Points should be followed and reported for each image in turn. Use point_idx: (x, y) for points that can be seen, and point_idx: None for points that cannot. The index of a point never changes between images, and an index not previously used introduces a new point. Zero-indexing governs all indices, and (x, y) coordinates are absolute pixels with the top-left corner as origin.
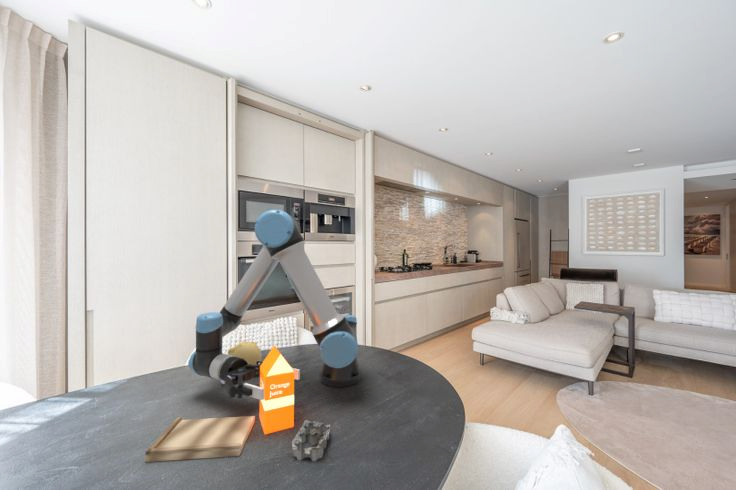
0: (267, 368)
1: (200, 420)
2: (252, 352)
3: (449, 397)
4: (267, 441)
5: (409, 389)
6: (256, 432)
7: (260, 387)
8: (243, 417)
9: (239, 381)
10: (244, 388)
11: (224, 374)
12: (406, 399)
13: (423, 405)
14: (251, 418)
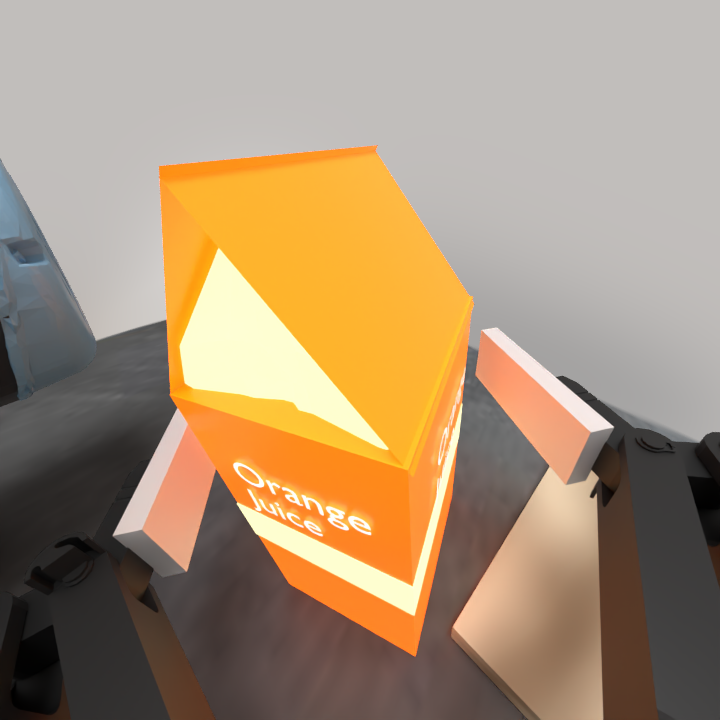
0: (434, 289)
1: None
2: None
3: (105, 340)
4: (458, 457)
5: (54, 391)
6: (474, 532)
7: (496, 343)
8: (522, 684)
9: (678, 519)
10: (598, 411)
11: None
12: (118, 373)
13: (146, 349)
14: (478, 616)
